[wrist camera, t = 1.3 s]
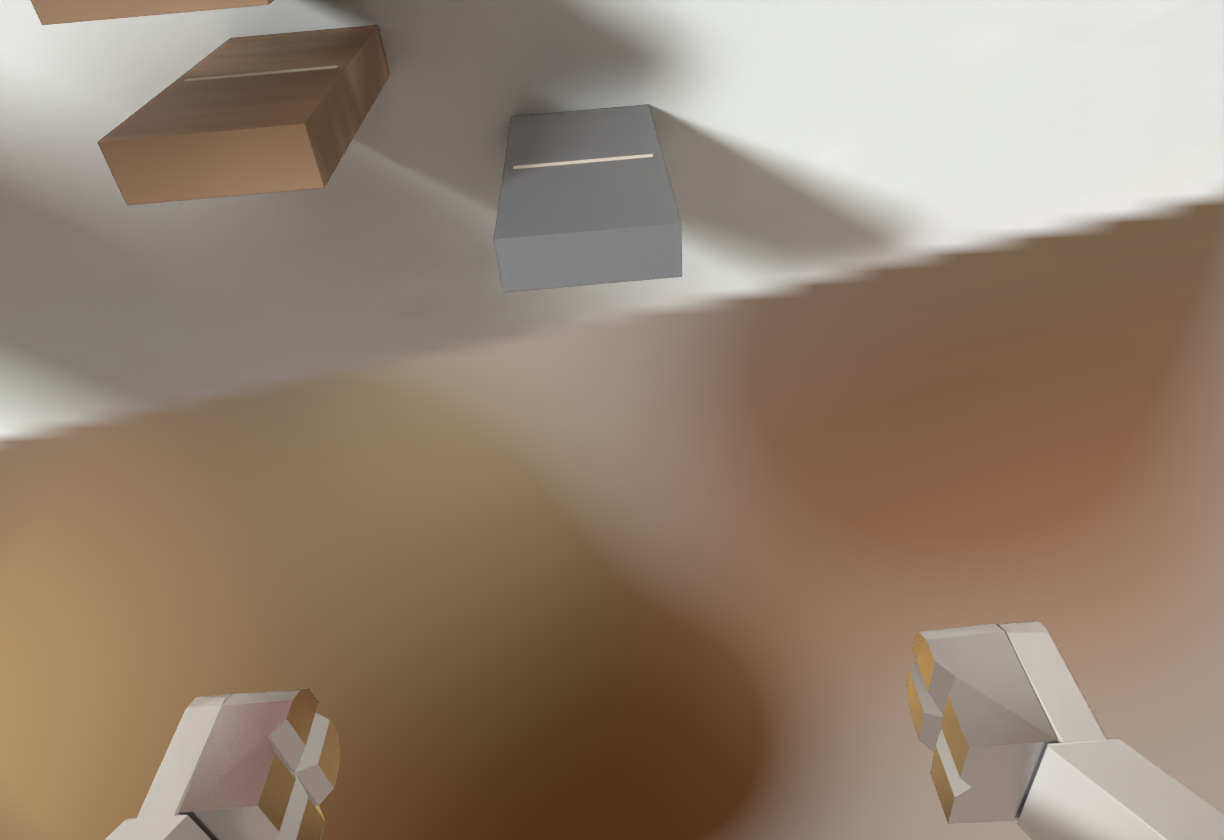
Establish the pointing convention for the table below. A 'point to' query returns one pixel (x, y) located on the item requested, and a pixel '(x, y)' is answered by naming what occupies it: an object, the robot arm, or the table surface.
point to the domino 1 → (126, 8)
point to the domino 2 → (251, 118)
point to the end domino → (585, 201)
